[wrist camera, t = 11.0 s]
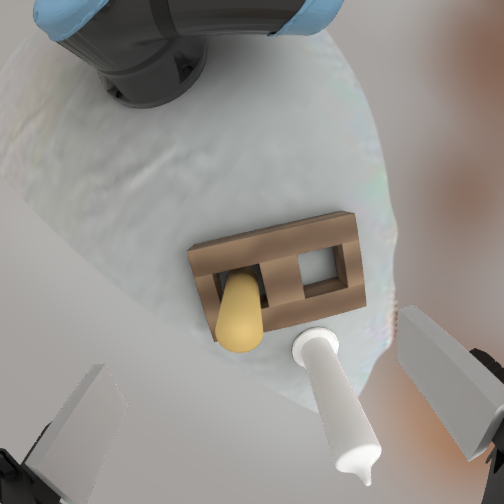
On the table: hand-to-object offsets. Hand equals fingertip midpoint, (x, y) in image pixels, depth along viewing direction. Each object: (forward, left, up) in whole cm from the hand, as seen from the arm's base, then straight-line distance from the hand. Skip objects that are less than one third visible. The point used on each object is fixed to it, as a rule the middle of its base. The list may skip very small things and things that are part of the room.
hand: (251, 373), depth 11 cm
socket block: (+4, +3, -27) cm, 27 cm away
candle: (+17, +6, -27) cm, 32 cm away
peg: (+4, -2, -27) cm, 27 cm away
